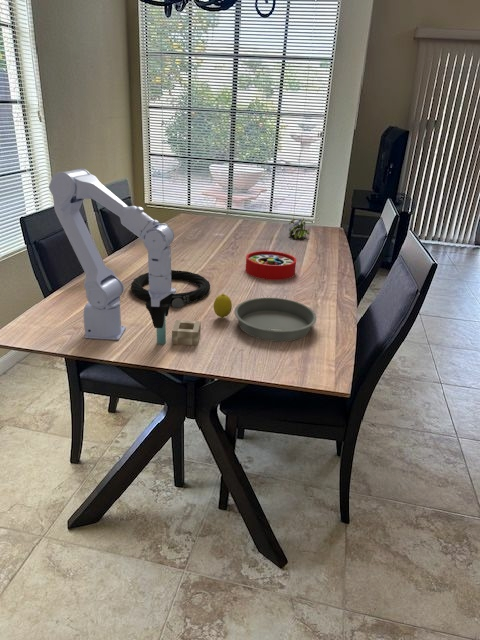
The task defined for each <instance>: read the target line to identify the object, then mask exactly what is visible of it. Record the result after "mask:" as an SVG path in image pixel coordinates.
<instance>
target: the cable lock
mask: <svg viewBox="0 0 480 640" xmlns="http://www.w3.org/2000/svg"><path fill="white" fill-rule="evenodd" d="M171 280H175V281H179V280H180V281H184V282H190V283H193V284H195V285H197V286H199V287H198V288H197V289H194V290H191V291H187V292H179V293H177V292H176V293H175V294H173V295H172V298H171V301H170V306H171V308H174V309H180V308H182V307H183V306H184V305H188V304H189V303H193V302H195V301H199V300H202V299H203V298H204V297H206V296H207V295H208V294H209V293H210V291H211V284H210V281H209V280H207V279H206V278H205V276H202V275H200V274H198V273H194V272H191V271H184V270H173V269H171ZM146 284H149V272H145V273H143V274H141V275H139V276H137V277H135V278H134V279H133V281H132V282H131V283H130V289H131V292H132V293H133V294H134V295H135V297H137V298H138V299H141V300H142V301H145V302H147V301H149V302H151V297H150V295H149V292H148V289H146V288H144V287H143V286H144V285H146Z"/></svg>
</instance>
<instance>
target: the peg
mask: <svg viewBox="0 0 480 640" xmlns="http://www.w3.org/2000/svg"><path fill="white" fill-rule="evenodd" d="M166 324H167V323H166V316H165V317H164V324H163V327H162V328H156V343H157V345H166V343H167V338H166V335H167V333H166V332H167V331H166V330H167V329H166V328H167V327H166Z"/></svg>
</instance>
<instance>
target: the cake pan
mask: <svg viewBox="0 0 480 640" xmlns="http://www.w3.org/2000/svg"><path fill="white" fill-rule="evenodd" d="M234 316H235V317H236V319H237V320H238V323H239V327H240V329H241V330H242V331H243V332H244V333H246V334H248V335H249V336H251V337H254V338H256V339H260V340H264V341H270V342H271V341H272V342H290V341H295V340H296V341H297V340H299V339H302V338H304V337H305V336H307V335H308V334H309V332H310V330H311V328H312V326H314V324H315V323H316V322H317V315H316V313H315V311H314V310H313V309H312V308H310V307H308V306H307V305H305V304H303V303H301V302H298V301H294V300H291V299H287V298H286V299H285V298H282V297H281V298H280V297H257V298H252V299H247V300H244V301H243V302H241V303H238V304H237V306H236V307H235V308H234Z"/></svg>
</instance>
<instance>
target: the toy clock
mask: <svg viewBox="0 0 480 640" xmlns="http://www.w3.org/2000/svg"><path fill="white" fill-rule="evenodd" d="M296 267H297V259H296V257H295V256H293V255H291V254H288V253H284V252H280V251H275V250H273V251H272V250H271V251H270V250H260V251H253V252H250V253H248V254H247V255H246V259H245V272H246V274H248V275H249V276H251V277H254V278H257V279H258V278H259V279H261V280H269V281H283V280H287V279H291V278H292V277H293V278H294V276H295V274H296Z"/></svg>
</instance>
